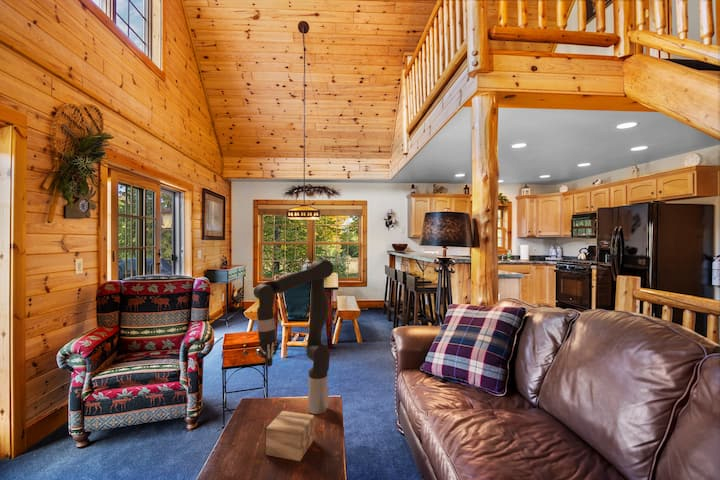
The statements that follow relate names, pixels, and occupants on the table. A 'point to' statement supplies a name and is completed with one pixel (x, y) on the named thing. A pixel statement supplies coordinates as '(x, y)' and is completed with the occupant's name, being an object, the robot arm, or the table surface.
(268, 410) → the table surface
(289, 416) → the socket block
